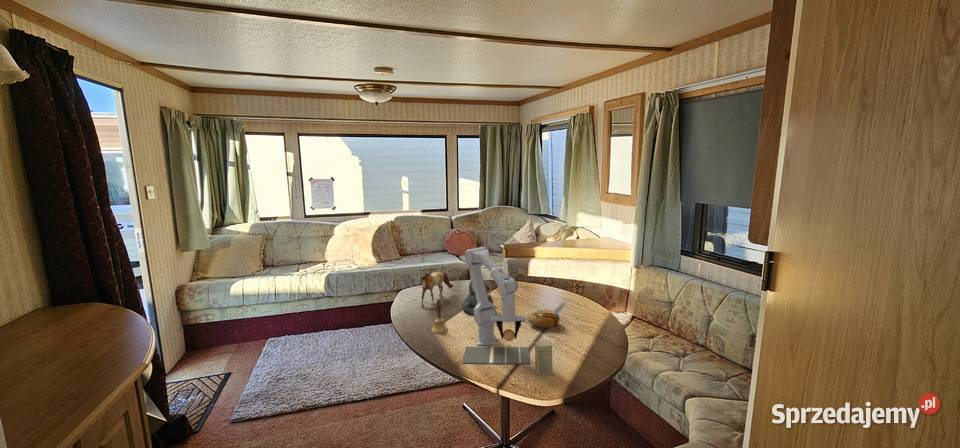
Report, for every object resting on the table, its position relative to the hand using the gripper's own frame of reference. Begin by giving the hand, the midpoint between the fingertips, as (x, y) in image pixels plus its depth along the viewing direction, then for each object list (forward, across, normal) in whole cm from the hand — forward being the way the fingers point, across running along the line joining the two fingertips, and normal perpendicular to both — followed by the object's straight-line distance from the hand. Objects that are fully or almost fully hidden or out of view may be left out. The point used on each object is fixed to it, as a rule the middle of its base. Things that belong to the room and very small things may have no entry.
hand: (509, 337), depth 165 cm
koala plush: (+9, -18, +52) cm, 56 cm away
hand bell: (+9, -35, +26) cm, 44 cm away
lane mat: (+9, -6, +1) cm, 10 cm away
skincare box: (+9, +14, -12) cm, 20 cm away
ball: (-1, 0, 0) cm, 1 cm away
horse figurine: (+9, -42, +65) cm, 78 cm away
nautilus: (+9, +18, +30) cm, 36 cm away
